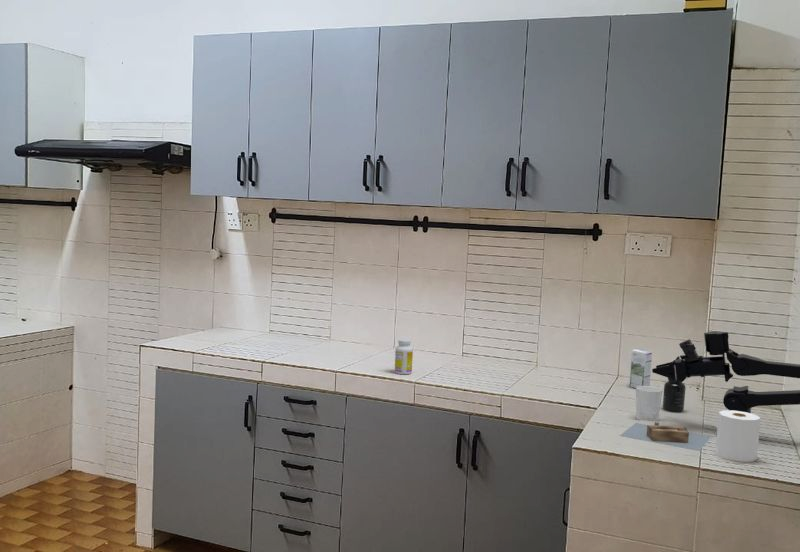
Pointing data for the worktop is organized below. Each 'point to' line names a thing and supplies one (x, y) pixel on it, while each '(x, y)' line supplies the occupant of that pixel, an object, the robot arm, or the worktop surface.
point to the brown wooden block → (667, 433)
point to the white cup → (648, 403)
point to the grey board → (641, 433)
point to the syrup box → (640, 368)
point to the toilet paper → (737, 435)
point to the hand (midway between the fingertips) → (654, 369)
